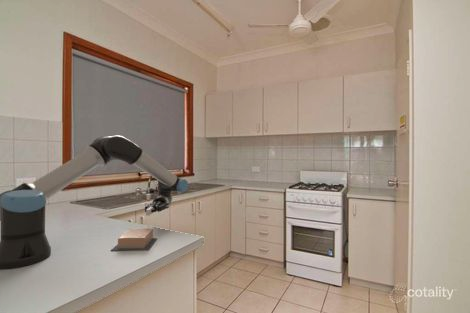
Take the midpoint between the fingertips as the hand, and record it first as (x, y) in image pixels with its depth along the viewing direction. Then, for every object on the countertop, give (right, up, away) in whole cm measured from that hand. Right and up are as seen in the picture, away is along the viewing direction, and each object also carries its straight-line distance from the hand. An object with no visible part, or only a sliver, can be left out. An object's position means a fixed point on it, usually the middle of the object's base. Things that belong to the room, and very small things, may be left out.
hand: (147, 212), depth 113 cm
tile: (0, -7, -8) cm, 11 cm away
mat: (+1, -9, -16) cm, 18 cm away
